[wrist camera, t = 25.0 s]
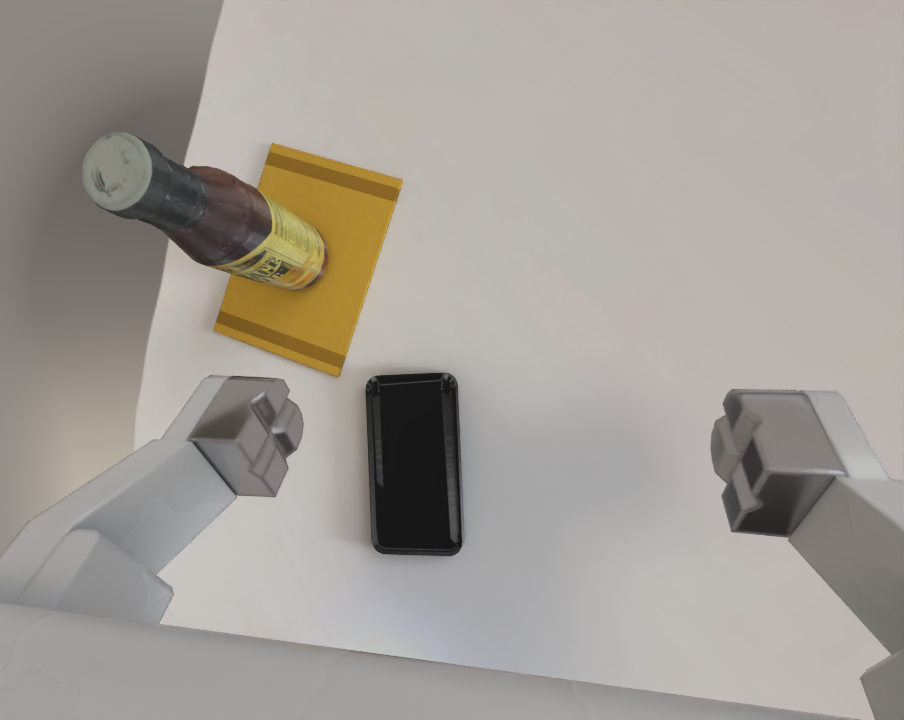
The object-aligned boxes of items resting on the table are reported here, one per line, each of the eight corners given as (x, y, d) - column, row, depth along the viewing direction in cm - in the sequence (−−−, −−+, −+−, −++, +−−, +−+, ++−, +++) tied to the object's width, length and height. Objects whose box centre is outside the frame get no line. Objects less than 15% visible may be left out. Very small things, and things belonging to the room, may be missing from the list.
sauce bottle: (266, 291, 44) (45, 232, 25) (271, 223, 44) (55, 109, 25) (333, 295, 43) (157, 236, 23) (339, 224, 43) (167, 107, 23)
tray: (339, 376, 43) (337, 376, 43) (216, 331, 46) (213, 330, 45) (403, 181, 42) (401, 179, 42) (274, 144, 45) (271, 142, 44)
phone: (454, 372, 40) (462, 556, 40) (457, 372, 41) (464, 551, 41) (363, 376, 41) (370, 553, 41) (368, 375, 43) (375, 548, 42)
